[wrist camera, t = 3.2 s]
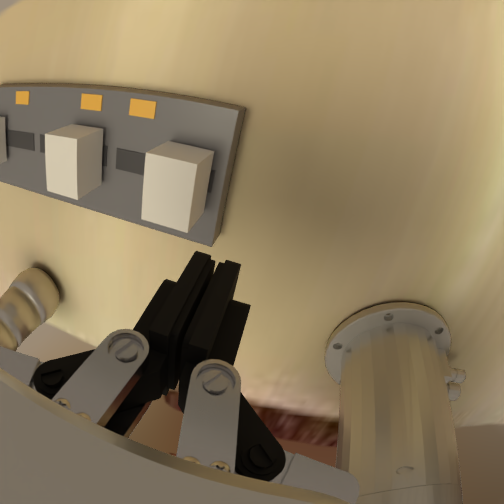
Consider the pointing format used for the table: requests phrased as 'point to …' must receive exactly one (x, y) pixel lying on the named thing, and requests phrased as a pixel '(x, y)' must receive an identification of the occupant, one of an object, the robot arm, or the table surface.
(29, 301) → the plastic bottle
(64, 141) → the slider
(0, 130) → the slider
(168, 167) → the slider
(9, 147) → the switch deck
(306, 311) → the table surface
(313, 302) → the table surface
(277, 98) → the table surface
